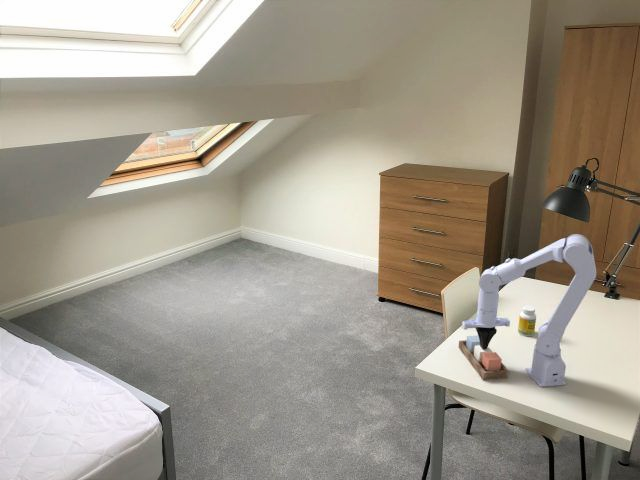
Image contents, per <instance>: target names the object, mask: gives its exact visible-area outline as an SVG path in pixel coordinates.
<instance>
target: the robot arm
mask: <svg viewBox="0 0 640 480" xmlns="http://www.w3.org/2000/svg"><path fill="white" fill-rule="evenodd" d="M550 261H554V262H555V261H556V262H558V263H563V262H566V263H567V264H568V265H569V266H571V268H572V270H573V271H574V273H575V274H574V275H573V276H574V277H573V278H572V280H571V282H570V283H569V284H568V287H567V288H566V290H565V292H564V293H563V296H562V298H561V299H560V301H559V302H558V304H557V306H556V307H555V309H554V311H553V313H552V314H551V316H550V317H549V318H548V319H547V321H546V322H545V323H543V324H542V325H540V327H539V328H538V335H537V340H536V341H535V344H534V348H533V354H532V361H531V363H532V364H531V367H525V368H524V370H525V372H526V373H527V374H528V375H529V376H530V377H531V378H532V379H533V381H534V382H536V383H537V385H539V387H545V388H546V387H554V386H565V385H567V383H566V382H565V374H566V363H565V361H564V360H563V358H562V355H561V354H562V349H561V341H562V339H563V337H564V334H565V331H566V328H567V327H568V325H569V323H570V322H571V320H572V318H573V316H574V315H575V313H576V311H577V310H578V308H579V307H580V305H581V304H582V301H583V300H584V298H585V296H586V295H587V293H588V291H589V289H590V288H591V286H592V285H593V284H594V281H595V280H596V277H597V268H596V267H597V266H596V262H595V256H594V249H593V246H592V244H591V243H590V240H589V239H588V238H587V237H586V236H584V235H583V234H578V233H574V234H570V235H569V236H568V237H567V238H566V237H564V238H561V239H559V240H557V241H555V242H553V243H550V244H549V245H547V246H545V247H543V248H541V249H539V250H537V251H535V252H533V253H531V254H529V255H528V256H526V257H524V258H522V259H519V258H516V257H514V258H512V259H511V258H510V257H509V258H506V259H505V261H504V262H503V263H501V264H499V265H497V266H495V265H493V266H491V267H490V268H487V269H485V270H484V271H483V272H482V274H481V275H480V276H479V277H480V278H479V280H478V286H479V293H478V300H477V309H476V310H477V313H476V317H475V318H471V319H468V320H462V322H461V327H462V329H463V330H464V331H465V330H467V331H468V329H475V331H476V334H477V335H478V336H479V340H480V347H481V348H482V349H487V347H489V345H490V343H491V340H492V339H493V337H494V336H495V335H496V334H497V332H498V331H497V328H496V327H506V328H507V327H510V325H511V324H510V323H511V320H510V319H508V317H507V318H506V317H505V318H504V317H497V316H498V307H499V297H500V296H499V289H500V286H503V285H506V284H509V283H511V282H514V281H516V280H518V279H520V278H522V277H524V276H525V274H526V271H527V270H529V269H530V270H531V269H533V268H536V267H537V266H539V265H542V264H545V263H547V262H550ZM563 264H564V263H563Z"/></svg>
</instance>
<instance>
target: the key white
mask: <svg viewBox="0 0 640 480" xmlns="http://www.w3.org/2000/svg"><path fill="white" fill-rule="evenodd" d="M492 352H493V350H492V349H491V348H490V346H488V347H487V349H482V348H481V347H480V345H477V346H475V347H474V357H475V359H476V360H483V353H492Z"/></svg>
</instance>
